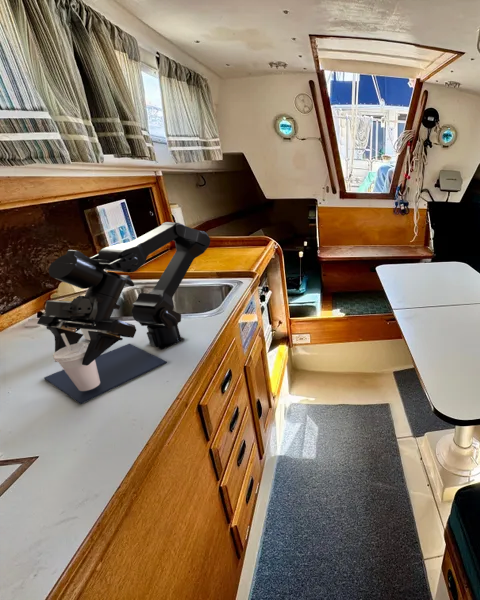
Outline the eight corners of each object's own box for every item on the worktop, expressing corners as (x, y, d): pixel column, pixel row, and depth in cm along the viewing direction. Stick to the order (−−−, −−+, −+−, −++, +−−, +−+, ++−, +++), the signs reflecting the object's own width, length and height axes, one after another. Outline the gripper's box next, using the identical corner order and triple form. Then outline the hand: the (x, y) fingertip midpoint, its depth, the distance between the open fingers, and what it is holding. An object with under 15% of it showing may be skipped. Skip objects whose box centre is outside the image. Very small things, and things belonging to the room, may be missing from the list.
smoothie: (62, 394, 71) (34, 340, 65) (87, 376, 76) (64, 324, 71) (91, 395, 71) (66, 341, 65) (115, 377, 76) (93, 325, 71)
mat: (130, 344, 92) (129, 343, 92) (167, 362, 85) (166, 361, 85) (44, 379, 78) (43, 377, 77) (80, 404, 70) (79, 402, 70)
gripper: (27, 279, 68) (-14, 351, 63) (106, 286, 66) (70, 361, 61) (80, 298, 79) (48, 361, 73) (149, 304, 77) (122, 370, 71)
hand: (71, 363), depth 69 cm, fingers closed on smoothie, 6 cm apart
